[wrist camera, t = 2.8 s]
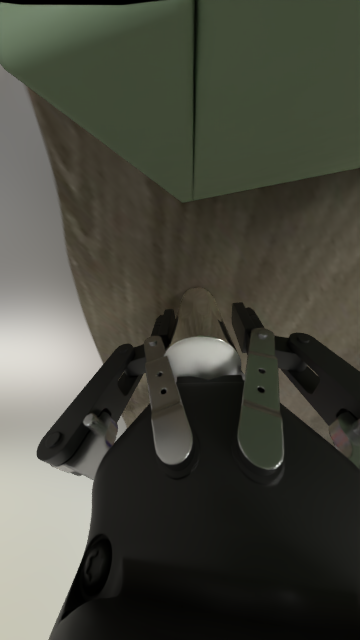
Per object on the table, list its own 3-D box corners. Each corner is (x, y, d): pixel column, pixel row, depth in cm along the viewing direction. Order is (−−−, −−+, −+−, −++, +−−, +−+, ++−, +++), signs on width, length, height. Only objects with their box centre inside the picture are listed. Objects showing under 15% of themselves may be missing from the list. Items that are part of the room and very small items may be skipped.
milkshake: (222, 322, 17) (250, 426, 9) (174, 317, 17) (156, 417, 9) (233, 283, 14) (289, 381, 6) (176, 278, 14) (153, 367, 6)
